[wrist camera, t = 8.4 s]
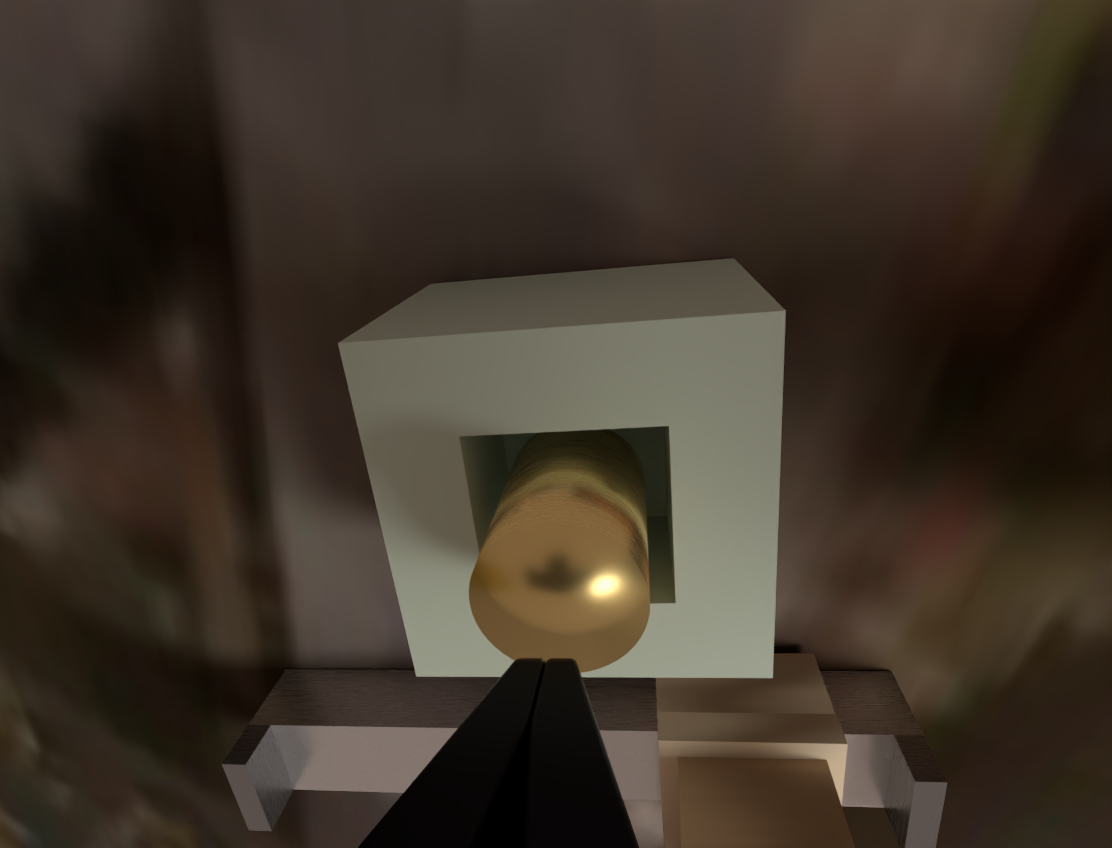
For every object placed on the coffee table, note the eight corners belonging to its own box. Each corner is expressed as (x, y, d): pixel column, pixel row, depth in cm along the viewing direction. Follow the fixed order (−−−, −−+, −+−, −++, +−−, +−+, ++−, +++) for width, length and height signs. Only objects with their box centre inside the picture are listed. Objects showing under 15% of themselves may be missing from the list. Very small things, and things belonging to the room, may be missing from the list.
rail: (891, 671, 21) (947, 782, 17) (882, 739, 22) (933, 858, 18) (285, 669, 24) (221, 764, 20) (305, 729, 25) (248, 830, 21)
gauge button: (641, 417, 14) (645, 521, 10) (648, 538, 15) (654, 674, 11) (503, 424, 14) (455, 527, 10) (520, 541, 15) (482, 673, 11)
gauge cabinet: (733, 258, 16) (785, 311, 11) (732, 534, 19) (772, 685, 14) (431, 283, 17) (337, 343, 12) (475, 541, 20) (418, 682, 15)
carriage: (813, 650, 20) (926, 959, 12) (805, 768, 22) (899, 1099, 14) (654, 651, 21) (667, 943, 13) (660, 765, 23) (675, 1079, 15)
